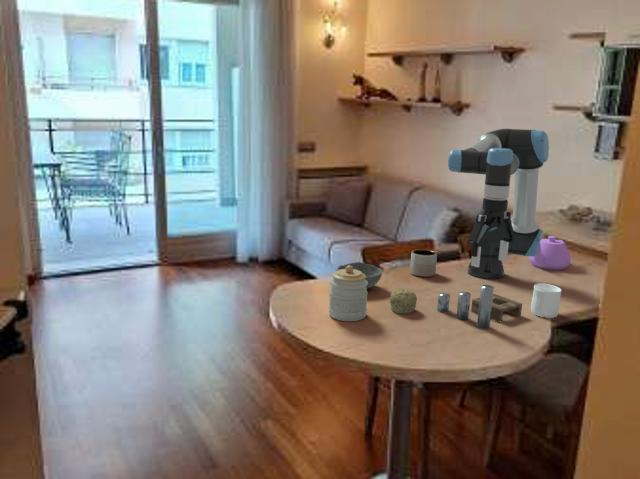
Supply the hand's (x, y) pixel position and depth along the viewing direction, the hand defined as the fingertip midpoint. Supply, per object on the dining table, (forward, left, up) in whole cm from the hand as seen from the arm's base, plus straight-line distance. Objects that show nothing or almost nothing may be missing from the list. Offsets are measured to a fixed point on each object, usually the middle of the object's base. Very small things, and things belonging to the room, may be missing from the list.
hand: (489, 263), depth 190 cm
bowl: (+10, -53, -22) cm, 58 cm away
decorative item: (+12, -26, -22) cm, 36 cm away
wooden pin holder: (-14, -6, -22) cm, 27 cm away
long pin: (0, 0, -22) cm, 22 cm away
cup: (-29, +3, -22) cm, 37 cm away
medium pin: (0, -9, -22) cm, 24 cm away
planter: (-26, -54, -22) cm, 64 cm away
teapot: (-86, -34, -22) cm, 95 cm away
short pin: (0, -18, -22) cm, 28 cm away
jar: (+32, -32, -22) cm, 50 cm away
